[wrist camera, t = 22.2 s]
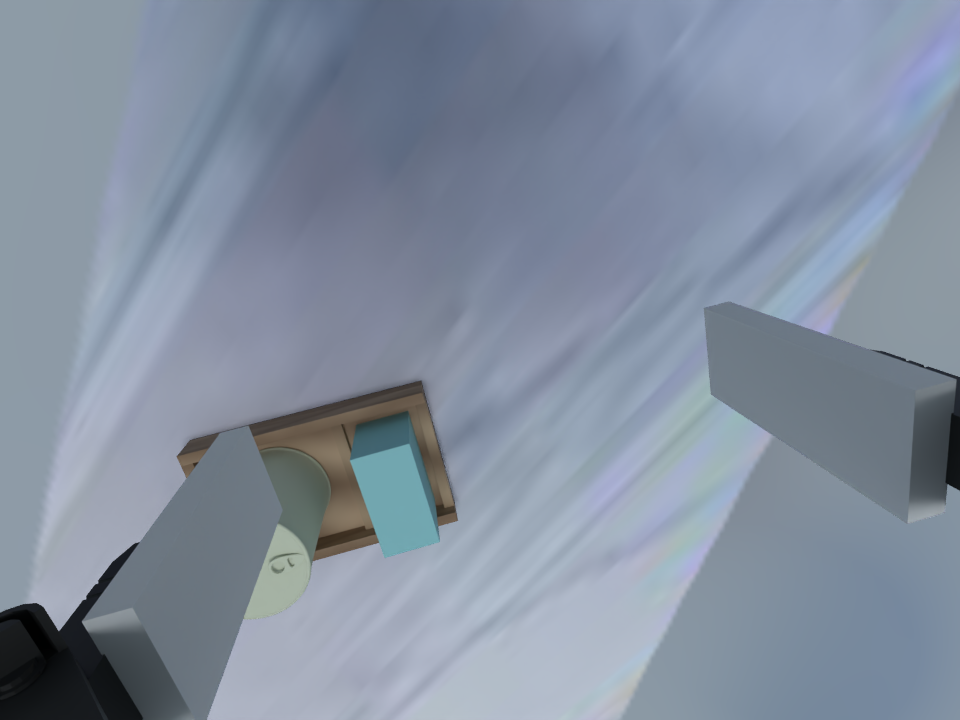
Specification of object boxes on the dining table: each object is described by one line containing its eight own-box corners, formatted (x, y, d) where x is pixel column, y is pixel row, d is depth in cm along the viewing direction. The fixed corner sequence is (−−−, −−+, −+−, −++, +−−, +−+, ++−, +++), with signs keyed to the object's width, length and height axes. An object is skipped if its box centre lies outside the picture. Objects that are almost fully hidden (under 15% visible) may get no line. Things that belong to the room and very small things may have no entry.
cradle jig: (190, 440, 49) (176, 456, 46) (421, 380, 51) (422, 392, 48) (244, 560, 54) (235, 582, 51) (454, 502, 55) (457, 520, 52)
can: (342, 519, 53) (324, 608, 41) (248, 541, 52) (204, 638, 41) (316, 436, 50) (290, 507, 38) (216, 459, 49) (159, 538, 38)
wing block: (356, 424, 50) (349, 460, 43) (408, 410, 50) (409, 443, 44) (386, 512, 53) (384, 557, 47) (434, 498, 54) (439, 541, 47)
